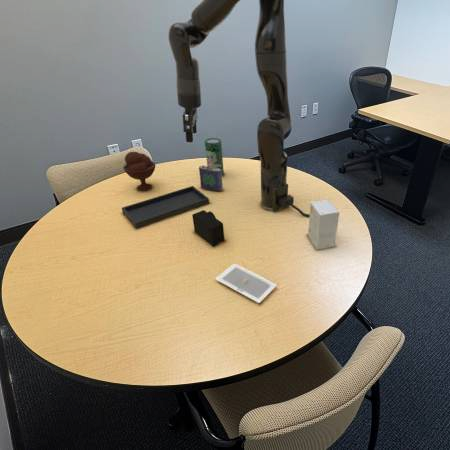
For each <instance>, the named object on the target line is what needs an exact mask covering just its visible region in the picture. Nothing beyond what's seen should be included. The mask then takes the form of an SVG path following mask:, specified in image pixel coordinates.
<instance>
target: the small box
mask: <svg viewBox="0 0 450 450" xmlns="http://www.w3.org/2000/svg"><path fill="white" fill-rule="evenodd" d="M309 214H310V217H308V230H307V237H308V238H309V240H310V242H311V243H312V245H313V246H314V247H315V249H316V250H317V251H318V250H323V249H328V248H333V247H335V246H336V240H337V233H338V225H339V217H340V211H339V210H338V209H337V208H336V206H335V205H334V204H333V203H332V202H331V200H330V199H322V200H314V201H310V206H309Z"/></svg>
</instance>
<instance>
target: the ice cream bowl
mask: <svg viewBox="0 0 450 450" xmlns="http://www.w3.org/2000/svg"><path fill="white" fill-rule="evenodd" d="M124 162H125V164H124V165H123V167H122V168H123V170H124V172H125V173H126V175H128V176H129V177H130V178H132V179H134V180H138V181H140V184H138V186H137V187H136V190H137V191H139V192H148V191H150V190H152V189H153V186H152V184H151V183H148V182H147V181H146V179H149V178H150V177H152V175H153V174H154V172H155V169H156V163H155V162H154V161H153V160H151V158H150V157H149V156H148V155H147V154H145V153H141V152H137V151H130V152H127V153H126V154H125V156H124Z"/></svg>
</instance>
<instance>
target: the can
mask: <svg viewBox="0 0 450 450" xmlns="http://www.w3.org/2000/svg"><path fill="white" fill-rule="evenodd" d="M204 148H205V157H206V165H207V164H212V165H211V168H217V169H221V175H222V177H224V176H225V175H224V174H225V173H224V172H225V169H224V160H223V158H224V157H223V146H222V140H221V139H220V138H218V137H208V138H206V139H205V140H204Z"/></svg>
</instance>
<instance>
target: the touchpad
mask: <svg viewBox="0 0 450 450" xmlns="http://www.w3.org/2000/svg"><path fill="white" fill-rule="evenodd" d="M214 280H216V281H218V282H219V283H221V284H223V285H225V286H227V287H229V288H231V289H232V290H234V291H236V292H238V293H240V294H241V295H243V296H245V297H247V298H249V299H250V300H253V301H254V302H256V303H258V304H260V303H261V302H262V301H263V300H264V299H265V298H267V296H269V294H270V293H271V292H272V291H273V290H274V289H275V288H276V287H277V286H278V284H276V283H274V282H272V281H271V280H268V279H267V278H264V277H262V276H260V275H259V274H257V273H255V272H254V271H251V270H249V269H247V268H246V267H243V266H241V265H239V264H237V263H235V262H234V263H232V264H231V265H230V266H229V267H227V268H226V269H225V270H224V271H223V272H222V273H220V274H219V275H217V276H216V277H215V278H214Z"/></svg>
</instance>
